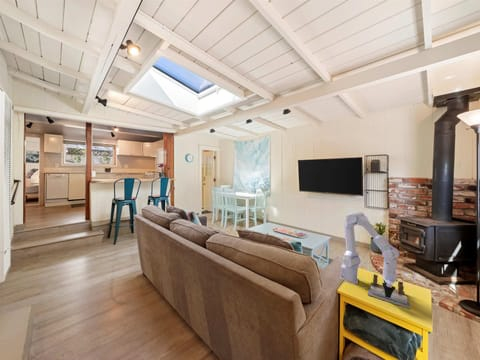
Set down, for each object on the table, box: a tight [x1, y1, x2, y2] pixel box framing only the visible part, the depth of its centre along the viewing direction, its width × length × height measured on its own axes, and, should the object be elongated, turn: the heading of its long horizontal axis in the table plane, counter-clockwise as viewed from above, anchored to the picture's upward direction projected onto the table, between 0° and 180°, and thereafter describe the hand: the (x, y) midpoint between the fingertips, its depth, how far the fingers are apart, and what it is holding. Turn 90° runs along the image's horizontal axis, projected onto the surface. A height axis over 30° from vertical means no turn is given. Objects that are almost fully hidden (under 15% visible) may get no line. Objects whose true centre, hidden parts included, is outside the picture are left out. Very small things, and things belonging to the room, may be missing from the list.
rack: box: [370, 274, 406, 296], centre depth 117 cm, size 16×6×6 cm, turn 54°
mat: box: [367, 287, 411, 310], centre depth 110 cm, size 18×8×1 cm, turn 54°
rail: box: [370, 285, 408, 305], centre depth 110 cm, size 16×3×3 cm, turn 54°
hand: (387, 293), depth 110 cm, fingers open, 7 cm apart
